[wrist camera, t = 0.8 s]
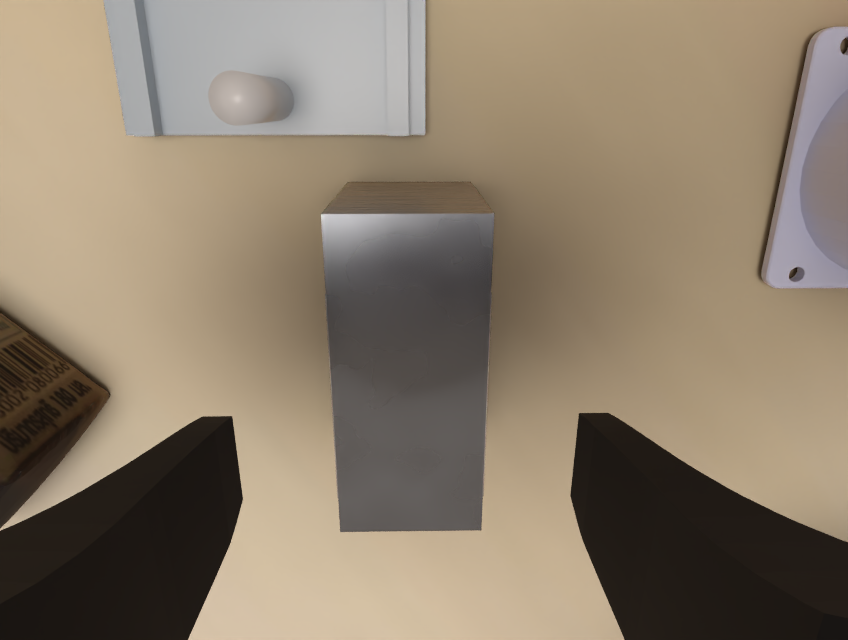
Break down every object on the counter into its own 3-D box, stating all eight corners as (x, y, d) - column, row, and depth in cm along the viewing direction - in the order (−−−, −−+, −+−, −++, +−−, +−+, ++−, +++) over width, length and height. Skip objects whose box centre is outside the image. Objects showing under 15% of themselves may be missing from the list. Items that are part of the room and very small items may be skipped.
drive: (472, 181, 19) (496, 213, 14) (465, 422, 22) (483, 530, 17) (346, 181, 19) (318, 214, 13) (357, 423, 22) (338, 532, 17)
